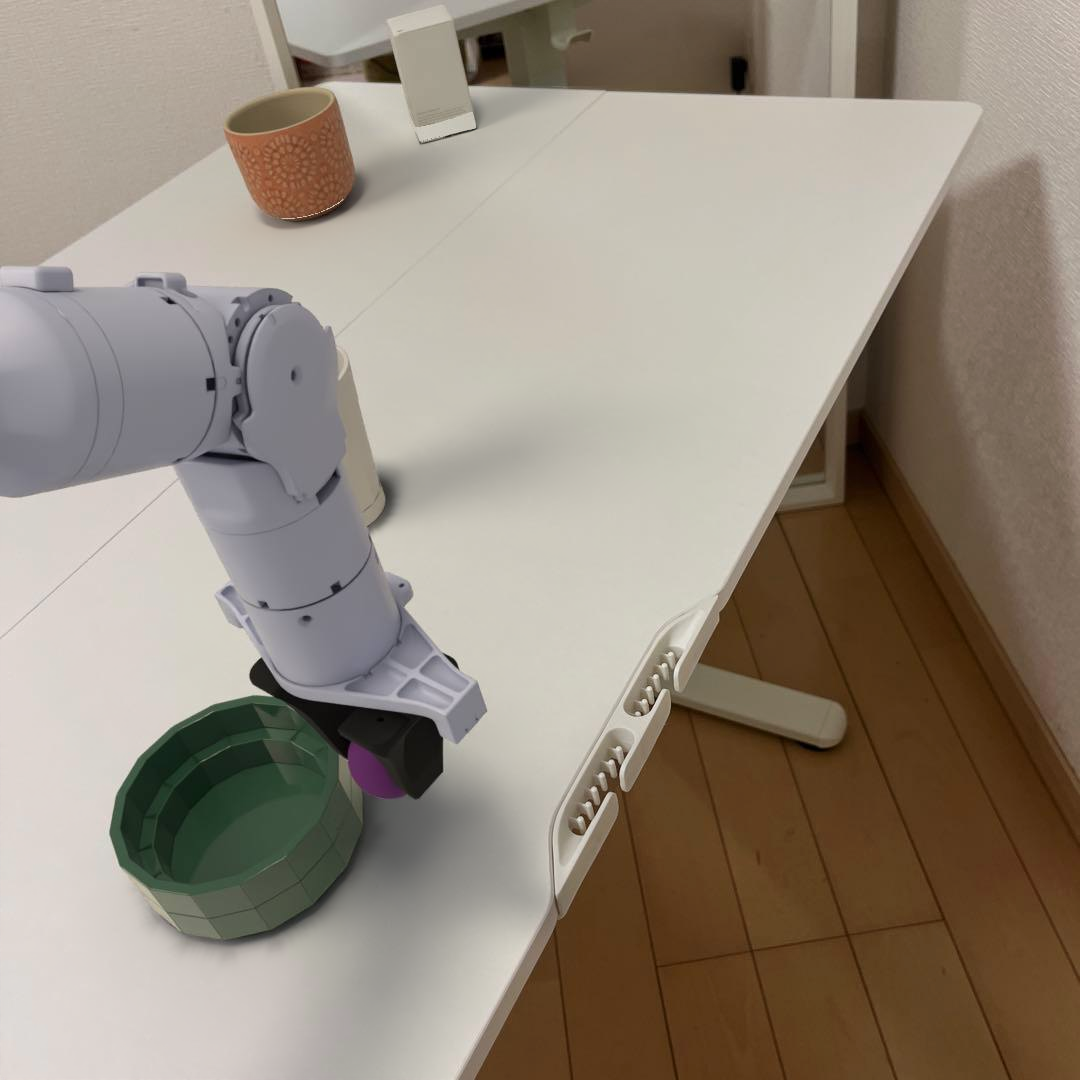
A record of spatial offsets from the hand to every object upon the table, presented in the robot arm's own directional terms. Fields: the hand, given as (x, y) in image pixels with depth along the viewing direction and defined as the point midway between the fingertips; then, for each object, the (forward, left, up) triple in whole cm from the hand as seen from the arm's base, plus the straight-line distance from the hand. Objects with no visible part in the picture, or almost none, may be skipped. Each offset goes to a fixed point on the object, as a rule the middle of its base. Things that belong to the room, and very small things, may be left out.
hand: (393, 763), depth 53 cm
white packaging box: (+77, +66, -8) cm, 102 cm away
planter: (+56, +67, -8) cm, 87 cm away
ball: (0, 0, +1) cm, 1 cm away
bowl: (-4, +9, -8) cm, 13 cm away
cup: (+19, +25, -8) cm, 32 cm away
